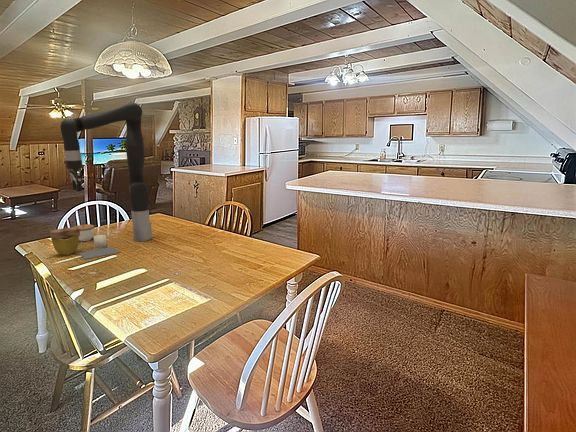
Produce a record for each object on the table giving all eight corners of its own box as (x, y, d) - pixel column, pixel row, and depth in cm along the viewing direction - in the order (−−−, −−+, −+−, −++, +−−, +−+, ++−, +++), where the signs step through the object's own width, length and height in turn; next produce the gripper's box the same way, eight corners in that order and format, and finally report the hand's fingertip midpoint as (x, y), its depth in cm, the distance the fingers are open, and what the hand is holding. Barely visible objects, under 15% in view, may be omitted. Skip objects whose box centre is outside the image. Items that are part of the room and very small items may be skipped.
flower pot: (68, 257, 182) (65, 239, 180) (53, 255, 184) (50, 238, 182) (81, 251, 190) (79, 234, 188) (66, 250, 192) (64, 233, 190)
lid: (77, 233, 191) (76, 226, 190) (80, 235, 187) (79, 229, 186) (50, 237, 184) (49, 230, 183) (52, 240, 179) (51, 233, 178)
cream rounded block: (105, 244, 203) (103, 233, 201) (108, 246, 198) (107, 236, 197) (93, 246, 199) (92, 235, 197) (96, 249, 194) (95, 238, 193)
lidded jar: (89, 236, 218) (87, 220, 215) (99, 239, 211) (97, 223, 209) (70, 240, 209) (68, 224, 207) (79, 243, 203) (77, 227, 201)
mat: (111, 247, 198) (111, 246, 198) (119, 252, 189) (119, 252, 189) (78, 253, 187) (78, 252, 187) (85, 259, 178) (84, 258, 178)
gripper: (85, 159, 188) (89, 191, 192) (77, 158, 198) (81, 188, 202) (68, 160, 183) (72, 193, 187) (61, 158, 193) (66, 189, 197)
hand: (77, 190), depth 194 cm, fingers open, 8 cm apart
